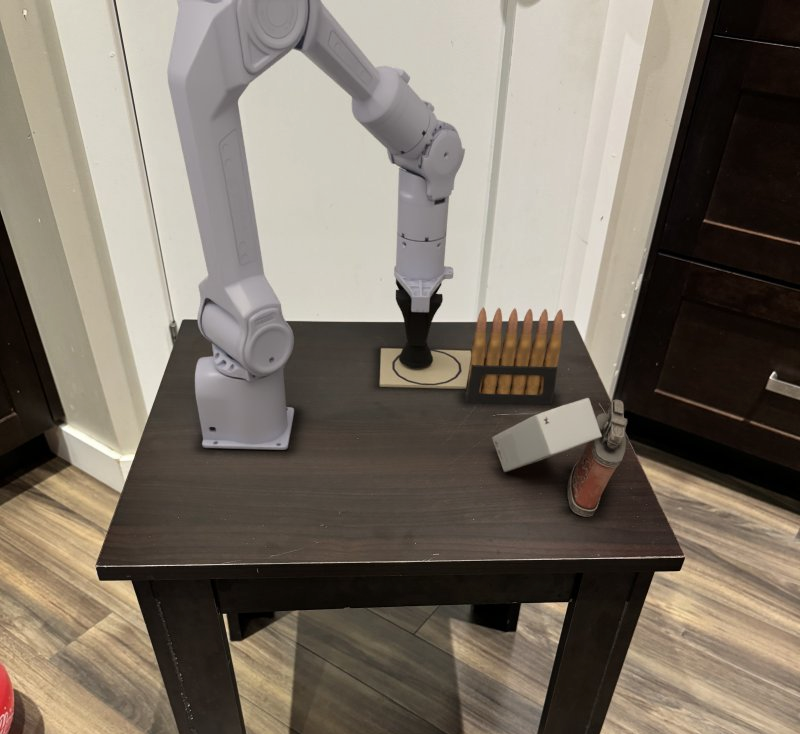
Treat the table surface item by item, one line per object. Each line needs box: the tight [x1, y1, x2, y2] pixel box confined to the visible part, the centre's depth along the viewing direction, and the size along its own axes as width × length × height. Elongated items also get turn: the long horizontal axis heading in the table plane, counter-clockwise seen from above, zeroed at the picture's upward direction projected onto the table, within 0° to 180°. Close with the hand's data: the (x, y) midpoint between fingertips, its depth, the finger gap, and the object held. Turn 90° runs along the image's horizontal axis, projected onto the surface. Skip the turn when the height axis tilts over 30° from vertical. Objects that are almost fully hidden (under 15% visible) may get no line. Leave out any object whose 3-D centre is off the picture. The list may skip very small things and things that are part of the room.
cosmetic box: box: [491, 397, 602, 473], centre depth 79 cm, size 6×4×12 cm
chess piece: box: [399, 341, 433, 368], centre depth 96 cm, size 4×4×10 cm
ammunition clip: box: [464, 307, 564, 405], centre depth 91 cm, size 11×2×12 cm, turn 91°
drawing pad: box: [379, 347, 472, 390], centre depth 99 cm, size 12×9×1 cm
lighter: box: [567, 399, 628, 518], centre depth 78 cm, size 8×3×10 cm, turn 168°
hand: (416, 339), depth 98 cm, fingers closed on chess piece, 2 cm apart
